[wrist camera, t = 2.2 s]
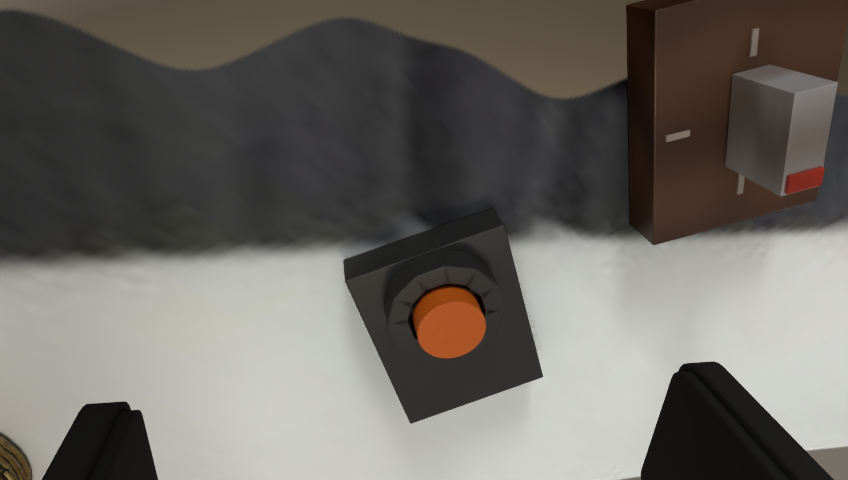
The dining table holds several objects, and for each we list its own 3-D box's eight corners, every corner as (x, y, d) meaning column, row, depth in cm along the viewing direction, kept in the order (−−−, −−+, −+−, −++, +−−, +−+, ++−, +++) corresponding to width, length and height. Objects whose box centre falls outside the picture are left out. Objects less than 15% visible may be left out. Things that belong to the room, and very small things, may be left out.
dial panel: (625, 4, 30) (657, 10, 27) (813, -43, 30) (862, -42, 28) (629, 224, 37) (654, 247, 34) (782, 182, 37) (818, 201, 34)
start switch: (404, 298, 31) (408, 316, 30) (469, 275, 31) (476, 292, 30) (423, 348, 33) (428, 367, 32) (485, 326, 33) (493, 345, 32)
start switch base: (343, 259, 34) (346, 300, 30) (492, 207, 34) (515, 240, 30) (405, 398, 41) (414, 446, 37) (531, 354, 41) (553, 397, 37)
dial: (731, 73, 29) (799, 94, 25) (769, 64, 30) (843, 83, 25) (724, 166, 32) (783, 198, 28) (759, 157, 32) (824, 187, 28)
